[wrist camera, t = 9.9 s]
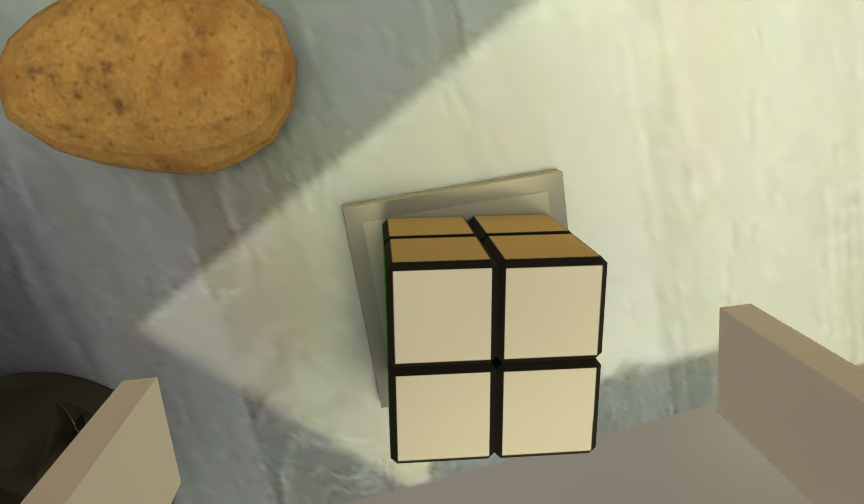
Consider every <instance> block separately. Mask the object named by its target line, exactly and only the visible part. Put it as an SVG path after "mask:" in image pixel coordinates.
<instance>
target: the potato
mask: <svg viewBox="0 0 864 504" xmlns="http://www.w3.org/2000/svg"><path fill="white" fill-rule="evenodd" d="M296 73H297V61H296V58H295V56H294V54H293V52H292V49H291V47H290V45H289V42H288V39H287V36H286V34H285V31H284V28H283V25H282V23H281V20H280V17H278V16H277V15H276V14H274V13H273V12H272V11H270V10H269V9H267V8H266V7H265V6H263V5H262V4H260V3H259V2H258V1H256V0H58V1H57V2H55V3H53V4H52V5H50V6H48V7H46V8H45V9H43V10H41V11H40V12H38V13H36V14H35V15H34V16H33V17H32V18H31V19H29V20H28V21H27V22H26V23H25V24H24V25H23V26H22V27H21V28H20V29H19V30H17V31H16V32H15V33H14V34H13V35H12V36H11V37H10V38H9V39H8V41H7V43H6V46H5V48H4V50H3V52H2V54H1V57H0V99H1V102H2V105H3V107H4V110H5V113H6V116H7V119H9V120H10V121H12V122H13V123H15V124H16V125H18V126H20V127H21V128H23V129H24V130H26V131H27V132H29V133H30V134H32V135H33V136H35V137H37V138H38V139H40V140H41V141H43V142H44V143H46V144H47V145H49V146H50V147H52V148H53V149H56V150H58V151H61V152H64V153H67V154H71V155H74V156H77V157H81V158H84V159H87V160H91V161H94V162H97V163H101V164H105V165H111V166H118V167H124V168H131V169H137V170H144V171H152V172H163V173H174V174H188V173H214V172H216V171H219V170H221V169H224V168H226V167H229V166H231V165H234V164H236V163H239V162H241V161H244V160H245V159H247V158H249V157H250V156H252V155H253V154H255V153H256V152H258V151H259V150H261V149H263V148H264V147H266V146H267V145H269V144H270V143H272V142H273V141H274V140H275V138H276V136H277V135H278V133H279V131H280V130H281V128H282V126H283V125H284V123H285V121H286V120H287V118H288V116H289V115H290V113H291V111H292V110H293V107H294V96H295V84H296Z"/></svg>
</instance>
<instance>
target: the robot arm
mask: <svg viewBox="0 0 864 504" xmlns="http://www.w3.org/2000/svg"><path fill="white" fill-rule="evenodd" d="M717 412H718V413H719V414H720V415H721V416H722V417H723V418H724V419H725V420H726V421H727V422H729V423H730V424H731V425H732V426H733V427H734V428H735V429H736V430H737V431H738V432H739V433H740V434H741V435H742V436H743V437H744V438H745V439H746V440H747V441H748V442H749V443H750V444H751V445H752V446H754V448H756V449H757V450H758V451H759V452H760V453H761V454H762V455H763V456H764V457H765V458H766V459H767V460H768V461H769V462H770V463H771V464H772V465H773V466H774V467H775V468H776V469H777V470H779V471H780V472H781V474H783V475H784V476H785V477H786V478H787V479H788V480H789V481H790V482H791V483H792V484H793V485H794V486H795V487H796V488H797V489H798V490H799V491H800V492H801V493H802V494H803V495H804V496H805V497H807V499H809V500H810V501H811V502H812V503H813V504H864V371H863V370H862V369H860V368H859V367H857V366H855V365H853V364H852V363H850V362H848V361H847V360H845V359H843V358H842V357H840V356H838V355H837V354H835V353H833V352H831V351H830V350H828V349H826V348H825V347H823V346H821V345H820V344H818V343H816V342H815V341H813V340H811V339H810V338H808V337H806V336H804V335H803V334H801V333H799V332H798V331H796V330H794V329H793V328H791V327H789V326H788V325H786V324H784V323H782V322H781V321H779V320H777V319H776V318H774V317H772V316H771V315H769V314H767V313H766V312H764V311H762V310H761V309H759V308H757V307H755V306H754V305H752V304H745V305H737V306H729V307H721V308H720V322H719V358H718V394H717ZM180 484H181V480H180V476H179V471H178V467H177V463H176V458H175V454H174V449H173V445H172V441H171V436H170V432H169V427H168V423H167V419H166V414H165V410H164V405H163V401H162V397H161V392H160V388H159V383H158V379H157V377H151V378H143V379H135V380H127V381H122V382H121V383H120V384H119V386H118V387H117V388H116V389H115V390H114V392H112V391H111V390H109V389H107V388H105V387H102V386H100V385H98V384H95V383H93V382H90V381H87V380H84V379H80V378H76V377H72V376H67V375H61V374H51V373H28V374H19V375H13V376H8V377H4V378H0V504H173V503H174V498H175V495H176V492H177V490H178V488H179V486H180Z"/></svg>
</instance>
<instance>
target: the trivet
mask: <svg viewBox="0 0 864 504" xmlns="http://www.w3.org/2000/svg"><path fill="white" fill-rule="evenodd" d="M343 213H344V219H345V224H346V229H347V234H348V239H349V244H350V249H351V254H352V259H353V265H354V270H355V275H356V280H357V285H358V290H359V295H360V300H361V305H362V310H363V316H364V321H365V326H366V331H367V336H368V341H369V346H370V351H371V356H372V362H373V367H374V372H375V377H376V382H377V387H378V392H379V397H380V402H381V408H383V407H389V402H388V377H387V348H386V317H385V295H384V264H383V233H382V224H383V223H384V222H385V221H386V220H387V219H389V218H422V217H456V216H463V217H464V218H465V219H466V220H467V221H469V220H470V219H471V218H472V217H473V216H492V215H525V214H548V215H549V216H550V217H552V218H553V219H554V220H556V221H557V222H558V223H559V224H561V225H562V226H563V227H565V228H566V229H567V230H568V225H567V215H566V205H565V195H564V185H563V175H562V171H560V170H558V169H552V170H546V171H540V172H535V173H529V174H523V175H517V176H511V177H505V178H499V179H493V180H487V181H481V182H475V183H469V184H463V185H457V186H451V187H445V188H439V189H433V190H427V191H421V192H416V193H410V194H404V195H398V196H392V197H386V198H380V199H374V200H368V201H362V202H356V203H350V204H344V205H343Z"/></svg>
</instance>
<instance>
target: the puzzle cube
mask: <svg viewBox="0 0 864 504" xmlns="http://www.w3.org/2000/svg"><path fill="white" fill-rule="evenodd" d="M382 233H383V264H384V295H385V317H386V348H387V377H388V402H389V427H390V451H391V459H393V460H394V461H395V462H396V463H414V462H432V461H449V460H467V459H484V458H489V457H490V456H491V455H492V454H493V453H494V452H495V453H496V454H497V455H498V456H499V457H500V458H508V457H525V456H541V455H560V454H578V453H589V452H590V451H591V450H593V449H594V448H595V446H596V431H597V416H598V400H599V385H600V369H601V364H600V363H599V362H598V361H597V359H596V357H597V356H598V355H599V354H600V353H601V352H602V338H603V322H604V307H605V291H606V276H607V262H606V261H605V260H604V259H603V258H602V257H601V256H600V255H599V254H597V253H596V252H595V251H594V250H592V249H591V248H590V247H588V246H587V245H586V244H585V243H583V242H582V241H581V240H580V239H578V238H577V237H576V236H574V235H573V234H572V233H571V232H570V231H569V230H567V229H566V228H565V227H563V226H562V225H561V224H559V223H558V222H557V221H556V220H554V219H553V218H552V217H550V216H549V215H548V214H525V215H492V216H473V217H472V218H471V219H470V220H469V221H467V220H466V219H465V218H464V217H463V216H456V217H422V218H389V219H387V220H386V221H385V222H384V223H383V224H382Z"/></svg>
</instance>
